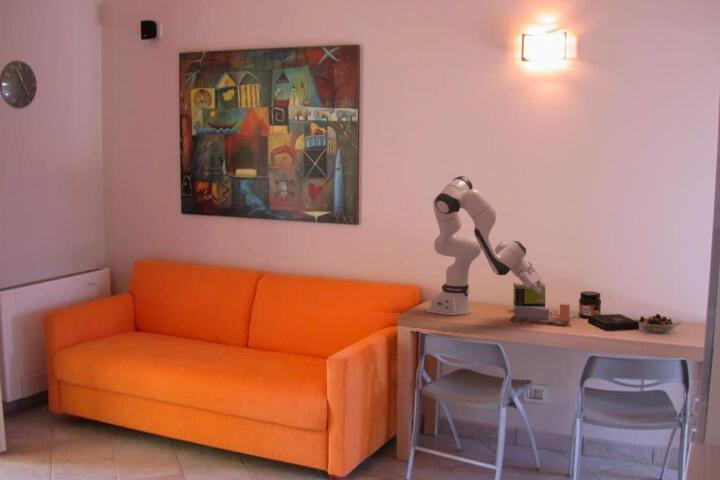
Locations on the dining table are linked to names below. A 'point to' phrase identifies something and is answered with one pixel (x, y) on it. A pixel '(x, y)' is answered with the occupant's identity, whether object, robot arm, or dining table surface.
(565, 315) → the stub
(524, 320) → the brown flat board
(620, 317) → the portable cd player
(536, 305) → the tea box
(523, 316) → the grey long bar
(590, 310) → the supplement container
